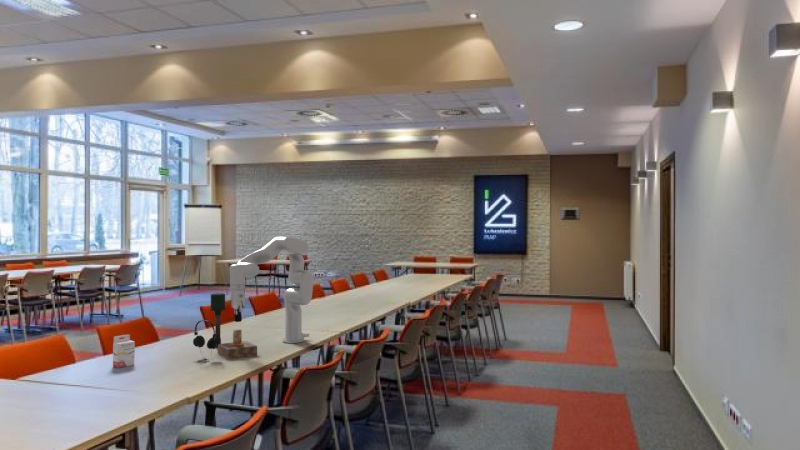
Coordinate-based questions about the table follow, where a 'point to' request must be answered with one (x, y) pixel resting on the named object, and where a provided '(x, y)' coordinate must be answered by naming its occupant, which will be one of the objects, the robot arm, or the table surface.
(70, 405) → the table surface
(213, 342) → the headphones
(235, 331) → the peg
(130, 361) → the ink cartridge box
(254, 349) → the socket block
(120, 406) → the table surface
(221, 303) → the stick grenade
